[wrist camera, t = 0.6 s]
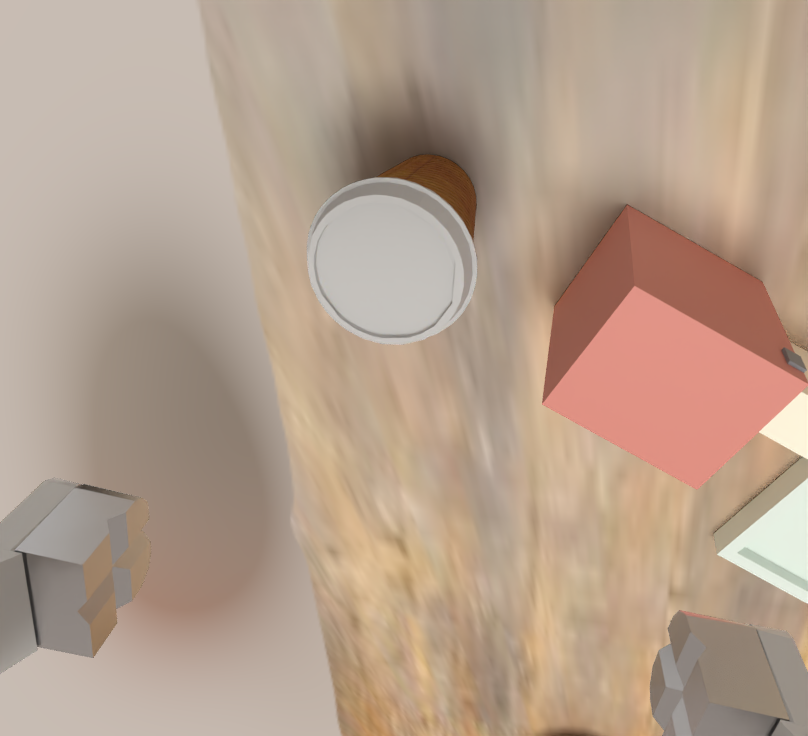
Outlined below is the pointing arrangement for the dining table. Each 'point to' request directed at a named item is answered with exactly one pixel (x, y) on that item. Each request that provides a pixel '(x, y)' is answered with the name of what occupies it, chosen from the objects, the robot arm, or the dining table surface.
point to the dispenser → (668, 351)
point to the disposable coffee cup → (397, 251)
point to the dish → (773, 533)
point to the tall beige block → (792, 418)
